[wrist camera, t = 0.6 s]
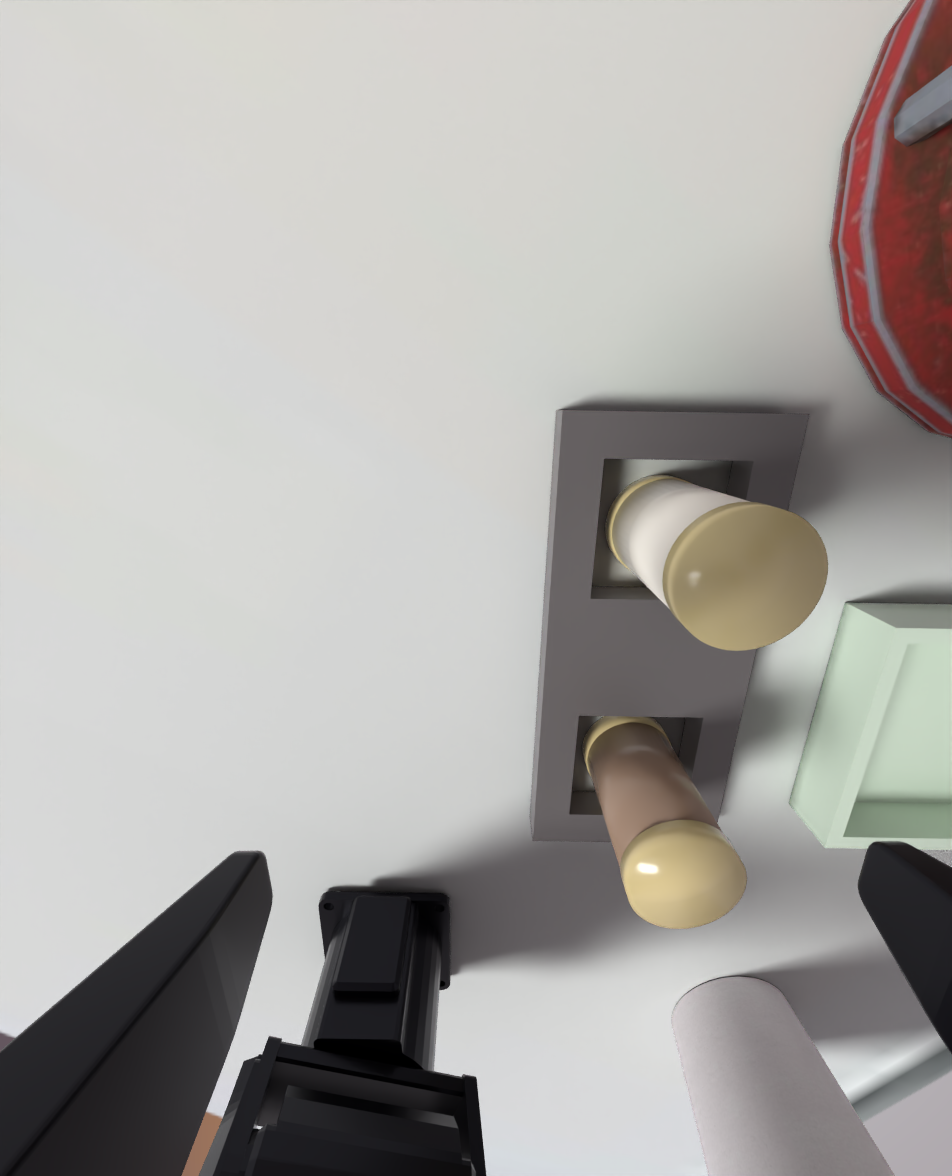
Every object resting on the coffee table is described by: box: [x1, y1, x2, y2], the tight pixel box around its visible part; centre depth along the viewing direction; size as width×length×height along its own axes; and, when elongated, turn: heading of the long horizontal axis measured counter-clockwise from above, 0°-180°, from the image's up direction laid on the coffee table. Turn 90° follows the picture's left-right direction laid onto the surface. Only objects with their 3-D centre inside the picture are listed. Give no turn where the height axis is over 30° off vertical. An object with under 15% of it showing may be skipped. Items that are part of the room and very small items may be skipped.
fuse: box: [605, 475, 828, 651], centre depth 15 cm, size 4×4×7 cm
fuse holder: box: [530, 410, 809, 842], centre depth 19 cm, size 18×8×1 cm, turn 179°
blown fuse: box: [582, 716, 747, 929], centre depth 19 cm, size 4×4×7 cm
